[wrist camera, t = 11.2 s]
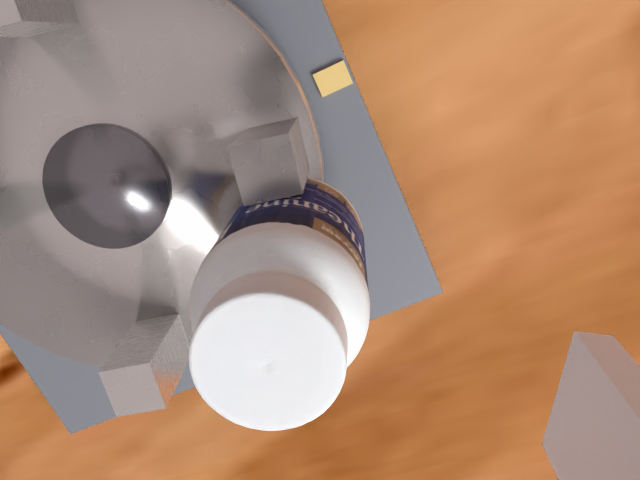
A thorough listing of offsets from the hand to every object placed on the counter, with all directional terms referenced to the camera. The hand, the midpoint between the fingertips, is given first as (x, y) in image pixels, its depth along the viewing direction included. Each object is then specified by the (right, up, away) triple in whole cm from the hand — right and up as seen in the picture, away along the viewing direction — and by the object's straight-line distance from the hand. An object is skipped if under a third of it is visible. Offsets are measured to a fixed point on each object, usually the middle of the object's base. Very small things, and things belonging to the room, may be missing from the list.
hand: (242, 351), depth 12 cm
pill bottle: (+1, +2, +12) cm, 12 cm away
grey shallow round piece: (-7, +5, +13) cm, 16 cm away
